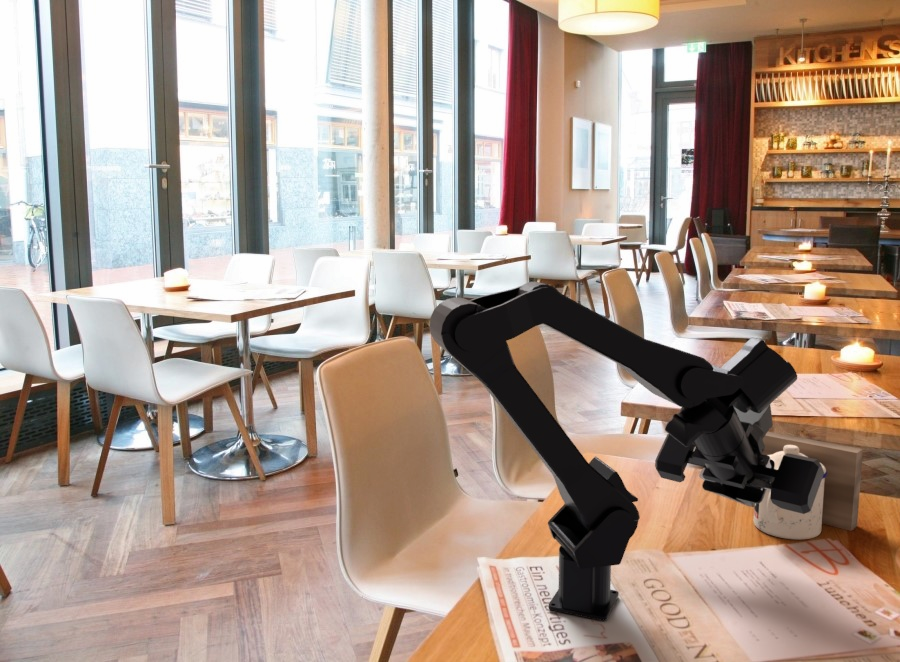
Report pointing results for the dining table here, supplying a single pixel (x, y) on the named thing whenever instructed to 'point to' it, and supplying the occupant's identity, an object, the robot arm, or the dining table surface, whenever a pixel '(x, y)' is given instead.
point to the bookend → (829, 475)
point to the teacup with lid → (788, 521)
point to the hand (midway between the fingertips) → (752, 503)
